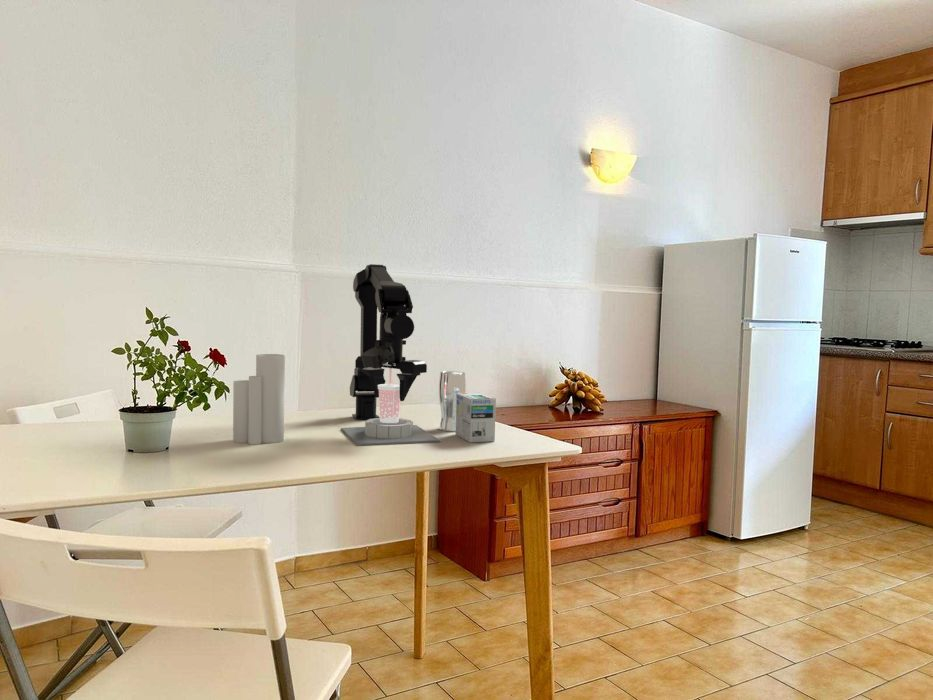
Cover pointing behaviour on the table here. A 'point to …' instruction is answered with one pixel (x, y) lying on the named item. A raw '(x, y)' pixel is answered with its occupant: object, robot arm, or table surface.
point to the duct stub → (388, 433)
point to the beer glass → (450, 397)
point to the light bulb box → (475, 417)
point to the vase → (260, 402)
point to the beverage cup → (389, 401)
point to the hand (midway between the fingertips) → (389, 399)
